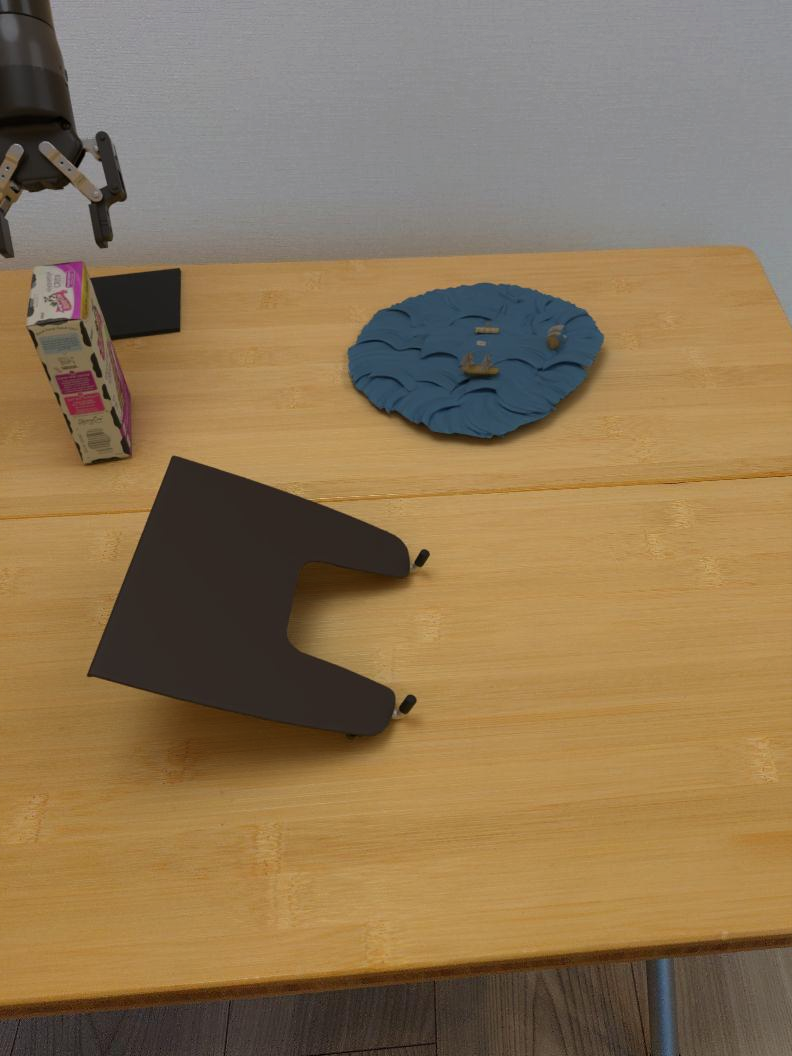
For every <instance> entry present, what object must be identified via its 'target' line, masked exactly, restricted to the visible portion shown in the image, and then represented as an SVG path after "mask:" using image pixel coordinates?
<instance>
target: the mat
mask: <svg viewBox="0 0 792 1056" xmlns="http://www.w3.org/2000/svg"><path fill="white" fill-rule="evenodd" d="M90 280H91V283H92V285H93V288H94V291H95V294H96V297H97V300H98V302H99V305H100V308H101V311H102V314H103V317H104V320H105V323H106V326H107V329H108V332H109V335H110V338H111V341H115V340H122V339H129V338H132V339H133V338H138V337H146V336H154V335H156V336H157V335H164V334H172V333H179V332H181V299H182V298H181V297H182V296H181V295H182V294H181V293H182V289H181V288H182V271H181V268H180V267H176V268H175V267H174V268H165V269H157V270H149V271H147V270H146V271H139V272H131V273H130V272H129V273H121V274H120V273H119V274H113V275H104V276H95V277H90Z"/></svg>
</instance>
